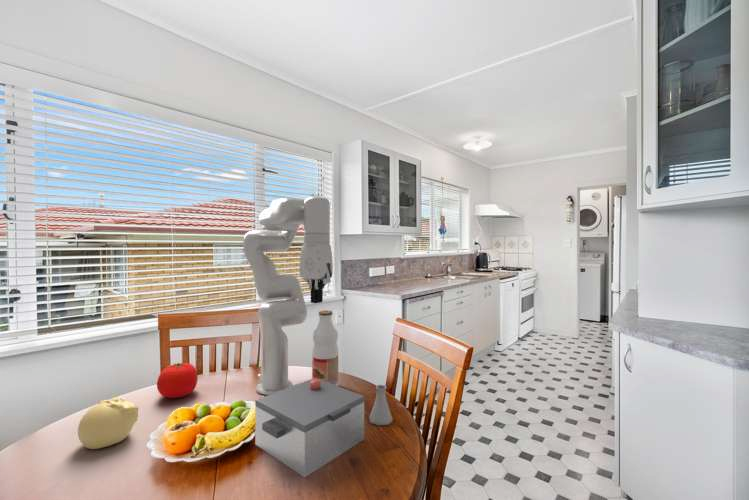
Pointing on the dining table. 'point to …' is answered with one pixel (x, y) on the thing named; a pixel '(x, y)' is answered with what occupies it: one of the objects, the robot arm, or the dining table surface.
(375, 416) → the flask
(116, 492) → the dining table surface
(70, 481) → the dining table surface
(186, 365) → the tomato
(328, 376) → the fruit juice
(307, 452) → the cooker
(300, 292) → the robot arm
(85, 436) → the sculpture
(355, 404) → the lid
